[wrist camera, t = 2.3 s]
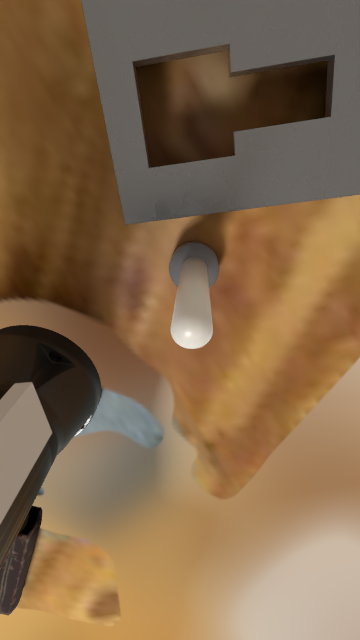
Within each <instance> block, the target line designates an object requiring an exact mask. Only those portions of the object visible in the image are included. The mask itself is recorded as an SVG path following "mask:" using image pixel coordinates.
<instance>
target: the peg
mask: <svg viewBox="0 0 360 640" xmlns="http://www.w3.org/2000/svg"><path fill="white" fill-rule="evenodd" d="M169 272H170V276H171V279H172V281H173V282H174V284H175V285H176V286H177V287H178V289H177V295H176V300H175V306H174V312H173V318H172V323H171V335H172V338H173V339H174V341H175V342H176V343H177V344H178V345H180V346H182V347H184V348H188V349H196V348H200V347H202V346H204V345H205V344H207V343H208V342H209V340H210V339H211V337H212V334H213V325H212V315H211V305H210V295H209V287H211V286H212V285H213V284H214V282H215V281H216V279H217V276H218V273H219V264H218V260H217V256H216V254H215V252H214V251H213V249H212V248H211V247H210V246H208V245H207V244H205V243H203V242H199V241H189V242H186V243H184V244H182V245H180V246H179V247H178V248H177V249H176V250H175V252H174V253H173V255H172V258H171V261H170V265H169Z"/></svg>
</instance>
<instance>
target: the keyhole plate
mask: <svg viewBox="0 0 360 640" xmlns="http://www.w3.org/2000/svg"><path fill="white" fill-rule="evenodd" d="M81 2H82V7H83V12H84V17H85V23H86V28H87V33H88V38H89V43H90V48H91V53H92V58H93V63H94V68H95V73H96V79H97V84H98V89H99V94H100V99H101V104H102V109H103V114H104V119H105V124H106V129H107V135H108V140H109V145H110V150H111V155H112V160H113V165H114V170H115V175H116V180H117V186H118V191H119V196H120V201H121V206H122V211H123V216H124V221H125V225H127V224H135V223H142V222H150V221H158V220H166V219H173V218H181V217H189V216H197V215H205V214H212V213H220V212H228V211H236V210H243V209H251V208H259V207H267V206H274V205H282V204H290V203H298V202H306V201H313V200H321V199H329V198H337V197H344V196H352V195H360V0H81ZM227 50H228V59H229V77H235V76H241V75H247V74H252V73H258V72H264V71H270V70H276V69H282V68H287V67H293V66H299V65H305V64H311V63H317V62H322V61H328V68H327V86H326V104H325V118H320V119H313V120H307V121H300V122H294V123H287V124H281V125H274V126H268V127H261V128H255V129H248V130H242V131H235V132H233V133H232V138H233V156H228V157H221V158H214V159H208V160H201V161H194V162H187V163H180V164H174V165H167V166H160V167H153V168H151V165H150V159H149V152H148V146H147V139H146V132H145V126H144V119H143V113H142V106H141V99H140V93H139V86H138V80H137V73H136V67H138V66H144V65H149V64H155V63H160V62H166V61H171V60H177V59H182V58H188V57H194V56H199V55H205V54H210V53H216V52H221V51H227Z"/></svg>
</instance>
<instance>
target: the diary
mask: <svg viewBox="0 0 360 640" xmlns="http://www.w3.org/2000/svg"><path fill="white" fill-rule="evenodd" d="M41 520H42V508H41V507H36V506H31V508H30V510H29V512H28V514H27V516H26V519H25V521H24V523H23V526H22V527H21V529H20V531H19V533H18V535H17V537H16V539H15V541H14V543H13V545H12V547H11V549H10V551H9V553H8V555H7V557H6V559H5V561H4V563H3V565H2V567H1V569H0V614H5V615H9V614H11V613H12V611H13V610H14V609H15V608H16V606H17V605H18V603H19V600H20V598H21V595H22V591H23V586H24V582H25V578H26V575H27V572H28V568H29V565H30V562H31V558H32V554H33V549H34V545H35V541H36V538H37V535H38V532H39V528H40V525H41ZM27 523H30V524H33V525H34V527H33V528H32V530H31V531H30V532H29V534H28V535H25V531H26V527H27Z"/></svg>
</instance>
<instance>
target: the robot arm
mask: <svg viewBox="0 0 360 640" xmlns="http://www.w3.org/2000/svg"><path fill="white" fill-rule="evenodd" d="M100 397H101V382H100V378H99V375H98V372H97V370H96V368H95V366H94V364H93V362H92V361H91V359H90V358H89V357H88V356H87V354H86V353H85V352H84V351H83V350H82V349H81V348H80V347H78V346H77V345H76V344H75V343H74V342H72V341H71V340H69V339H68V338H66V337H64V336H63V335H61V334H59V333H56V332H54V331H51V330H48V329H45V328H42V327H37V326H28V325H19V326H10V327H6V328H3V329H0V569H1V567H2V565H3V563H4V561H5V559H6V557H7V555H8V553H9V551H10V549H11V547H12V545H13V543H14V541H15V539H16V537H17V535H18V533H19V531H20V529H21V527H22V525H23V523H24V521H25V519H26V516H27V514H28V512H29V510H30V508H31V506H32V504H33V502H34V500H35V498H36V496H37V494H38V492H39V490H40V488H41V486H42V484H43V482H44V479H45V478H46V476H47V474H48V472H49V470H50V468H51V466H52V464H53V462H54V460H55V458H56V456H57V455H58V454H59V452H61V450H63V449H64V447H65V446H66V445H67V444H68V443H69V442H70V440H71V439H72V438H73V437H74V436H76V435H77V434H79V433H80V432H81V431H82V430H83V429H84V428H85V427H86V426H87V425H88V423H89V422H90V421H91V419H92V417H93V415H94V413H95V411H96V408H97V406H98V404H99V401H100Z"/></svg>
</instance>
